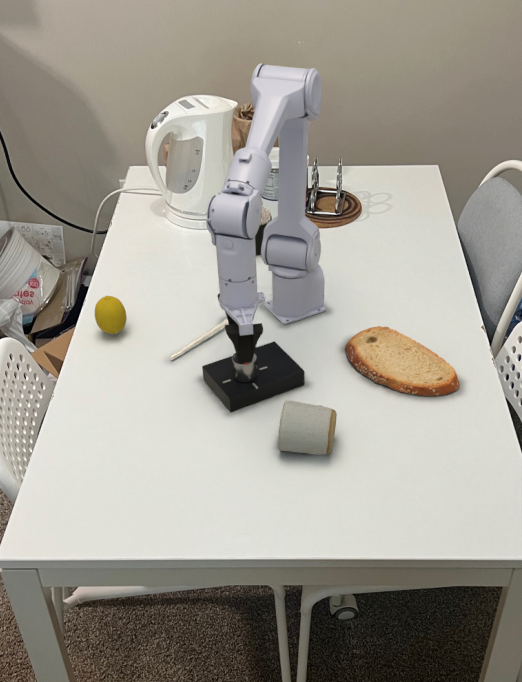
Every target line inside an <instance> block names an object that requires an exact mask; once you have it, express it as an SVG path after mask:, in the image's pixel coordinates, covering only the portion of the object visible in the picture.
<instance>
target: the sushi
mask: <svg viewBox="0 0 522 682" xmlns="http://www.w3.org/2000/svg"><path fill="white" fill-rule="evenodd" d="M272 216H273V215H272V213H271V211H270V210H269V209H267V207H265V206H262V211H261V220H260V225H259V229H258V231H257V234H256V235H255V247H256V256H261V246H262V241H263V235H264V229H265V227H266V225H267V224H268V222H269V221H271V220H272V219H273V217H272Z"/></svg>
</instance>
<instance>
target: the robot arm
mask: <svg viewBox="0 0 522 682" xmlns="http://www.w3.org/2000/svg"><path fill="white" fill-rule="evenodd" d="M322 93H323V80H322V78H321V74H320V72H319V71H318V69H317V68H314V67H311V68H305V67H304V68H303V67H293V66H283V65H272V64H266V63H263V62H260V63H259V64H257V65H256V67H255V69H254V70H253V71H252V75H251V80H250V96H251V101H252V107H253V111H254V112H253V116H252V119H251V124H250V128H249V131H248V136H247V138H246V144H245V147H241V148H239V149H237V150H236V151H235V153H234V154H233V157H232V160H231V163H230V166H229V168H228V171H227V173H226V176H225V179H224V181H223V184H222V187H221V189H220V192H219V191H218V193H217V194H213V195H212V196H211V197H210V199H209V200H208V204H207V208H206V220H205V222H206V228H207V230H208V232H209V234H210V237H211V243H212V245H213V246H215V251H216V252H215V253H216V264H217V275H218V288H219V289H218V290H219V293H218V294H217V300H218V304H219V307H220V308H221V309H222V310H223V311H224V312H225V315H226V319H228V323H229V325H225V328H224V329H225V333H226V335H227V337H228V339H229V340H230V341H231V343H232V345H233V347H234V350H235V353H236V355H237V359H238V361H239V363H248V362H252V360H253V357H254V352H255V348H256V347H257V343H258V342H259V339H260V338H261V336H262V335H263V333H264V326H263V323H262V322H259V323H254V318H255V315H256V312H257V309H258V307H259V305H260V304H263V306H264V308H265V309H267V311H269V313H271V314H272V315H273V316H274V317H275V318H276V319H277V320H278V321H279V322H280V323H281V324H282V325H289V324H291V323H294V322H297V321H300V320H303V319H305V318H309V317H312V316H315V315H318V314H321V313H324V312H326V311H327V308H326V307H325V275H324V272H323V269H322V266H321V265H320V259H321V254H322V253H321V252H322V243H321V232H320V228H319V227H318V225H317V224H316V223H314V222H313V221H312V220H310V219H309V218H308V217H307V216H306V203H307V201H306V198H307V181H308V180H307V178H308V177H307V176H308V155H309V134H310V127H311V126H310V125H311V122H312V121H316V120H319V119H320V115H321V112H322V111H321V110H322ZM278 137H279V138H278ZM277 139H279V140H278V141H279V142H278V177H277V178H278V180H277V181H278V182H277V185H278V186H277V216H275V217H273V218H272V220H271V221H269V222H268V224H267V225H266V227H265V229H264V235H263V241H262V246H261V255H260V256H261V260H262V262H263V264H264V265H265V266H267V268H268V271H269V272H271V292H272V294H271V295H272V297H271V298H272V299H271V300H269V301H267V302H266V296H265V293H264V292H258V278H257V277H258V275H257V273H258V271H257V255H256V247H255V235H256V234H257V231H258V229H259V225H260V220H261V211H262V208H263V207H264V203H263V200H262V198H263V195H264V192H265V190H266V187H267V184H268V181H269V179H270V175H271V173H272V169H273V165H272V161H271V159H270V158H269V156H270V154H271V153H272V151H273V147H274V146H275V144H276V141H277Z"/></svg>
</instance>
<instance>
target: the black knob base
mask: <svg viewBox="0 0 522 682" xmlns="http://www.w3.org/2000/svg"><path fill="white" fill-rule="evenodd" d="M254 353H255V354H256V356H257V377H256V378H255V379H254V380H253V381H250V382H239V381H237V380H235V379H234V377H233V367H232V356H233V355H230V356H228V357H224V358H221V359H219V360H216V361H213V362H209V363H207V364H205V365H202V366H201V367H202V368H201V370H202V378H203V381H204V383H205V384H206V385H207V386H208V387H209V388H210V390H211V391H212V392H213V394H215V396H216V397H217V399H219V401H220V402H221V403H222V405H224V407H225V408H226V409H227V411H229V413H231V414H232V413H233V412H236V411H239V410H241V409H244V408H247V407H249V406H252V405H254V404H257V403H260V402H263V401H266V400H269V399H270V398H273V397H276V396H278V395H281V394H285V393H287V392H289V391H292V390H294V389H297V388H300V387H303V386H304V385H305V370H304V369H303V368H302V367H301V366H300V364H299V363H297V361H295V359H293V358H292V357H291V356H290V355H289V354H288V353H287V352H286V351H285V349H283V348H282V346H280V345H279V344H278V343H277V342H276V341H271V342H268V343H264V344H262V345H259V346H256V347H255V352H254Z"/></svg>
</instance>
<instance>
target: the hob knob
mask: <svg viewBox="0 0 522 682" xmlns="http://www.w3.org/2000/svg"><path fill="white" fill-rule="evenodd" d="M231 356H232V367H233V377H234V379H235V380H237V381H239V382H250V381H253V380H254V379H255V378H256V377H257V356H256V354H255V353H254V357H253V360H252V362H248V363H239V361H238V359H237V355H236V352H234V353H233V355H231Z"/></svg>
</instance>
